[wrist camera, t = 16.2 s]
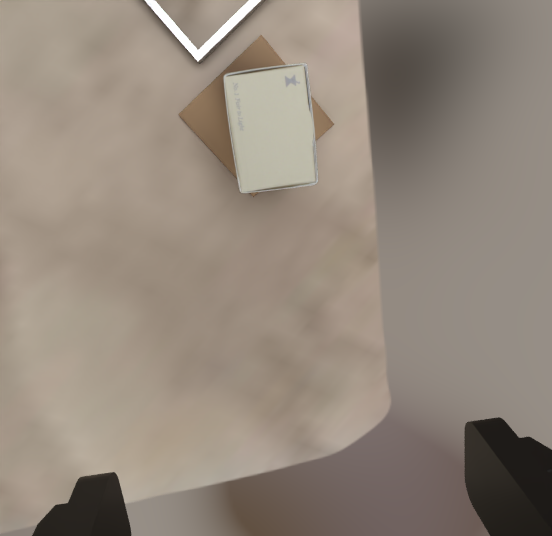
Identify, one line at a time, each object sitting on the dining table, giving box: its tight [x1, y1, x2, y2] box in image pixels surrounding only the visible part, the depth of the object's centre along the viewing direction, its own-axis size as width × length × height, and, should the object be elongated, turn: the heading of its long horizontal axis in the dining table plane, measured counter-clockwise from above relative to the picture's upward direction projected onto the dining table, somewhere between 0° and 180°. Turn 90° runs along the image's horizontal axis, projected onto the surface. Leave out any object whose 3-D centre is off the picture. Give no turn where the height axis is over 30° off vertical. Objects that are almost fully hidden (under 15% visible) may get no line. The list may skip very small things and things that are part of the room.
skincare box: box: [223, 63, 318, 193], centre depth 32 cm, size 6×4×12 cm
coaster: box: [179, 35, 334, 197], centre depth 38 cm, size 8×8×1 cm
